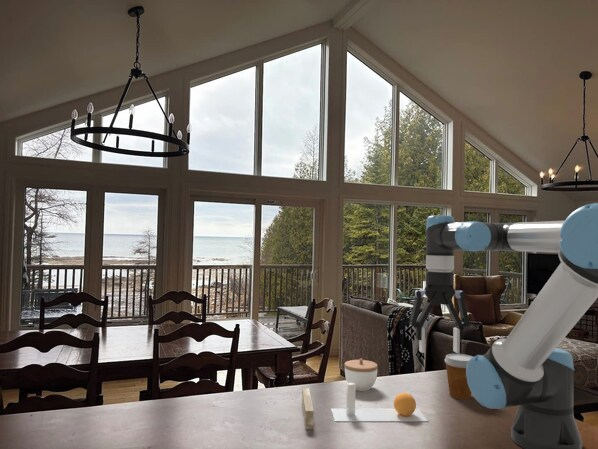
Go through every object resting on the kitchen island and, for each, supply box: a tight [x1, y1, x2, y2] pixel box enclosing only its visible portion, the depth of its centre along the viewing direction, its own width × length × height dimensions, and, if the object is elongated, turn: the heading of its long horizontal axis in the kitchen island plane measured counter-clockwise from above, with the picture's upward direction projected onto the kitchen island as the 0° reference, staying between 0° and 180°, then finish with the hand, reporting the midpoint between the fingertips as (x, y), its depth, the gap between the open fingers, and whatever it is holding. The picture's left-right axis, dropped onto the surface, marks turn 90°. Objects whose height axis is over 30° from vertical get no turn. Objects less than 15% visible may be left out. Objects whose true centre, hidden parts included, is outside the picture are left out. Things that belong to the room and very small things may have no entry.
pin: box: [345, 382, 356, 416], centre depth 128 cm, size 2×2×8 cm
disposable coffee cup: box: [444, 353, 473, 400], centre depth 145 cm, size 10×10×12 cm
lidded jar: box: [344, 358, 379, 392], centre depth 152 cm, size 11×11×9 cm
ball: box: [393, 392, 417, 416], centre depth 129 cm, size 6×6×6 cm
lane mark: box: [330, 407, 429, 423], centre depth 128 cm, size 25×9×1 cm, turn 92°
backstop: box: [301, 387, 314, 430], centre depth 127 cm, size 2×18×4 cm, turn 3°
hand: (439, 351), depth 129 cm, fingers open, 9 cm apart
